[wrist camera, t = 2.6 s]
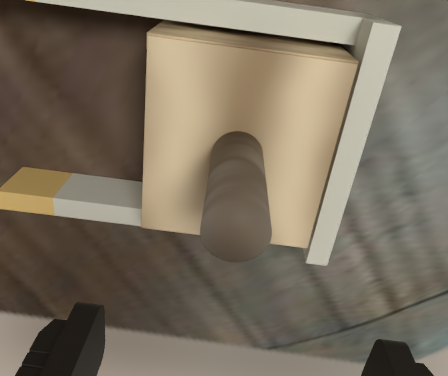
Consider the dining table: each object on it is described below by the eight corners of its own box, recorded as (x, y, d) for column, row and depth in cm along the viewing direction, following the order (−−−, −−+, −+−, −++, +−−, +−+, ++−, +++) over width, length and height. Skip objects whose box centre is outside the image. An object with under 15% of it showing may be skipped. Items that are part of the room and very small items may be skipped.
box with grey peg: (158, 179, 33) (104, 322, 20) (167, 17, 27) (97, 68, 14) (295, 196, 33) (331, 348, 20) (333, 40, 28) (418, 111, 14)
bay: (24, 183, 34) (-16, 223, 28) (-3, -38, 26) (-65, -39, 21) (313, 219, 34) (326, 265, 29) (369, 13, 27) (401, 26, 21)
